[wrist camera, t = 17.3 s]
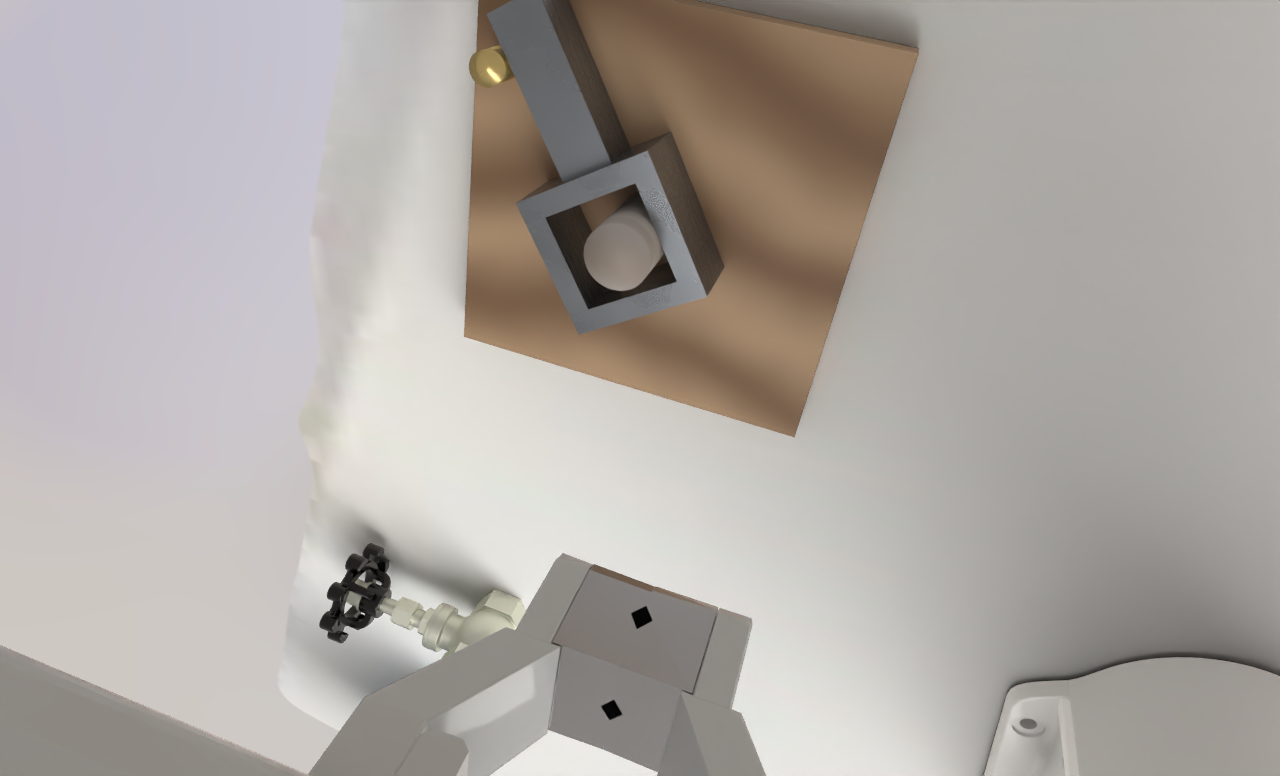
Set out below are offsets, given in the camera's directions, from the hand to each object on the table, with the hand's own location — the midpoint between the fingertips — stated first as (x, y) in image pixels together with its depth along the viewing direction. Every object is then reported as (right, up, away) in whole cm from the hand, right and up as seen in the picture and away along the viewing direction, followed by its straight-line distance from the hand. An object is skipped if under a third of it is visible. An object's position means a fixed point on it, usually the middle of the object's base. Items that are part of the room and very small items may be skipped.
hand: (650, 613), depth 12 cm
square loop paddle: (-2, +14, +24) cm, 27 cm away
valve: (-13, -10, +44) cm, 47 cm away
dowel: (-5, +18, +24) cm, 31 cm away
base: (+1, +12, +26) cm, 28 cm away
